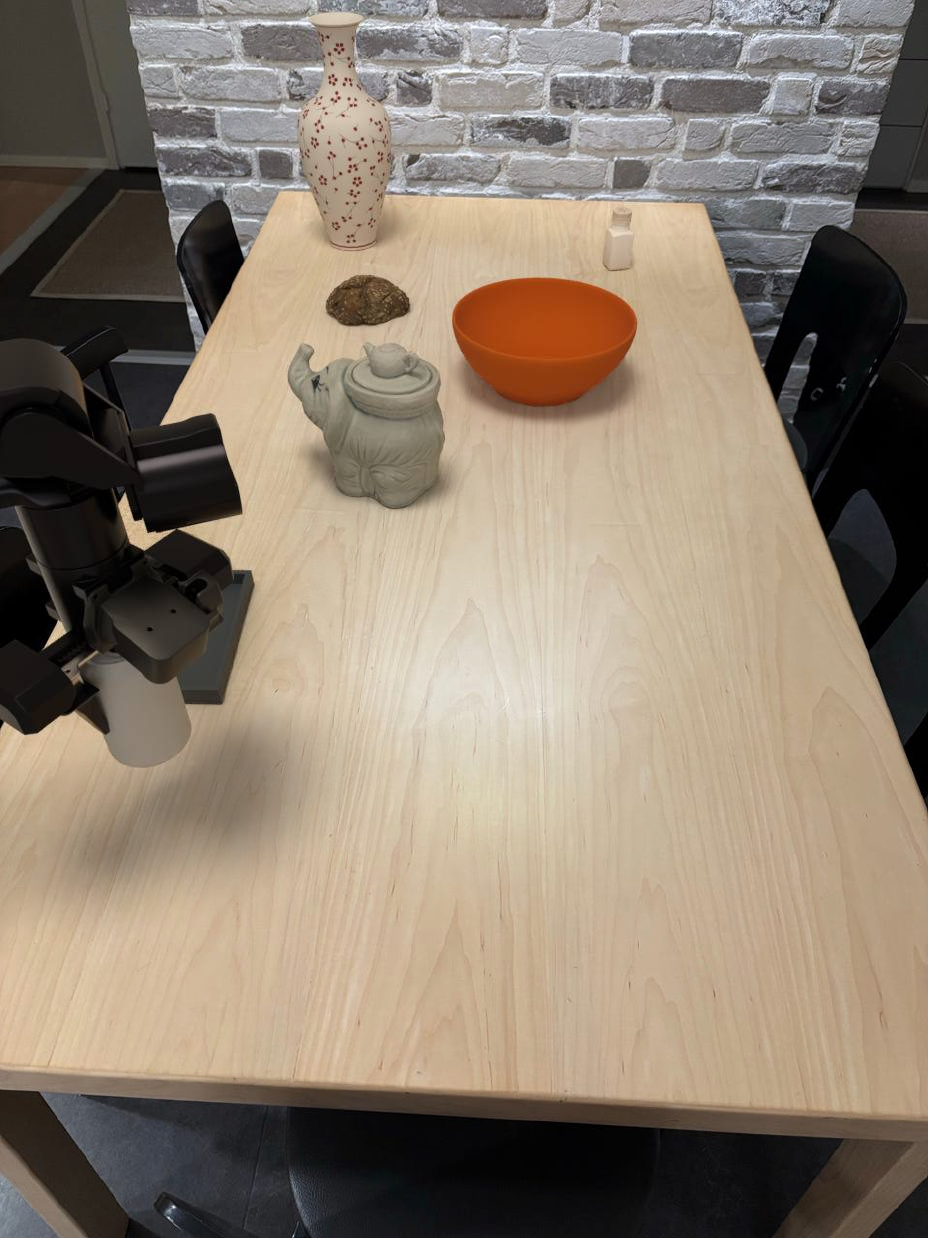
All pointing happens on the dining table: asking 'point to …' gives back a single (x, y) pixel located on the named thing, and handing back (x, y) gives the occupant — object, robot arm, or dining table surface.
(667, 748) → the dining table surface
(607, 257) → the pepper shaker
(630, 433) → the dining table surface
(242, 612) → the rectangular tray
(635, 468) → the dining table surface
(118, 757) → the beverage can
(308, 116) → the vase
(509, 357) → the bowl
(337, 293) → the bread roll
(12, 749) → the dining table surface
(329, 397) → the teapot
